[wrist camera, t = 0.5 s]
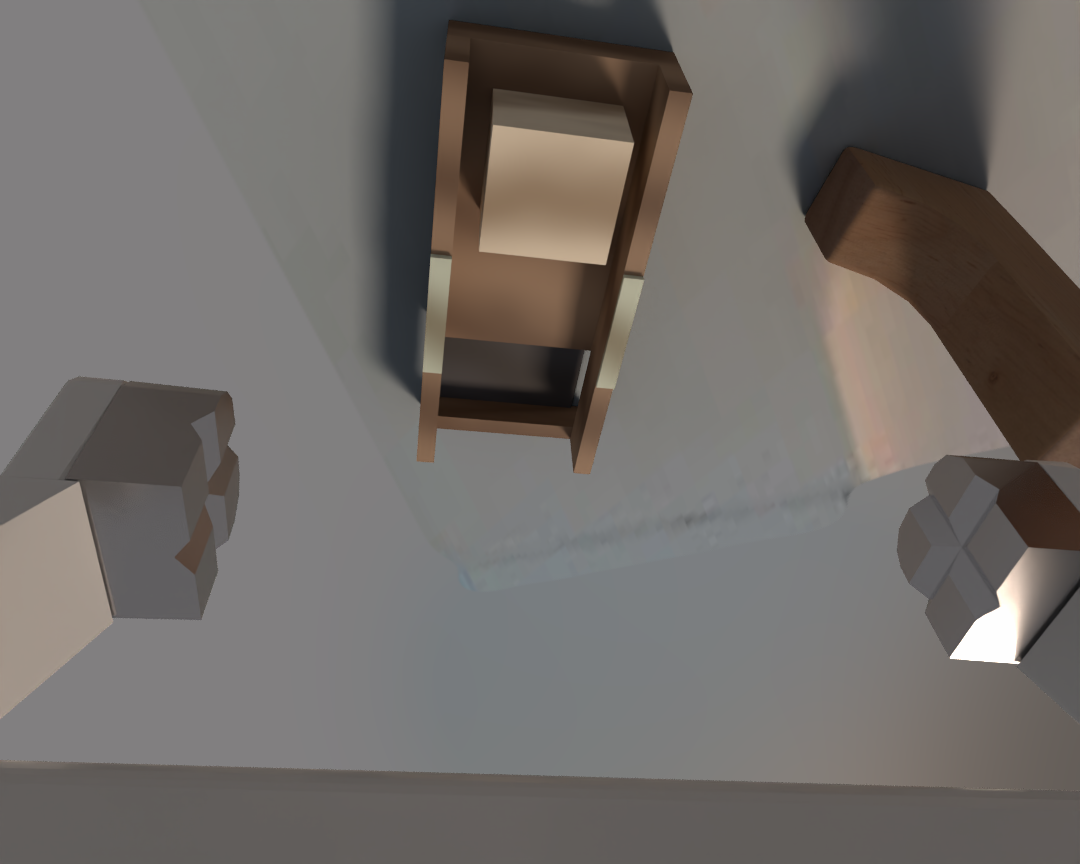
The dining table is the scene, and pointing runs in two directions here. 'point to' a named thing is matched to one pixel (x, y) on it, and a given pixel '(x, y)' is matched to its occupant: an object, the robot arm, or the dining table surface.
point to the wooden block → (965, 289)
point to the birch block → (553, 177)
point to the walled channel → (526, 282)
